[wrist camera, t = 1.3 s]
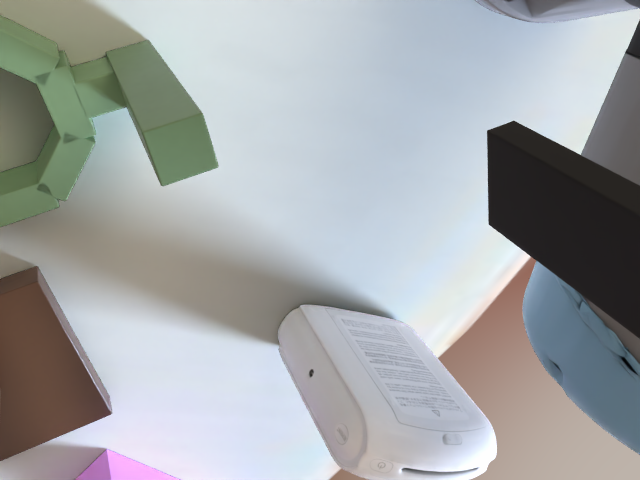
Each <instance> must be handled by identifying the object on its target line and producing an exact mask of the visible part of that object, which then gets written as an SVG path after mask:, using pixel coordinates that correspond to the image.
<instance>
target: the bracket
mask: <svg viewBox="0 0 640 480" xmlns="http://www.w3.org/2000/svg"><path fill="white" fill-rule="evenodd" d="M75 480H180V479H177V478H175V477H172V476H170V475H168V474H165V473H163V472H160V471H158V470H156V469H153V468H151V467H148V466H146V465H144V464H141V463H139V462H136V461H134V460H132V459H129V458H127V457H125V456H122V455H120V454H117V453H115V452H113V451H110V450H108V449H106V450H105V451H104V452H103V453H102V454H101V455H100V456H99V457H98V458H97V459H96V460H95V461H94V462H93V463H92V464H91V465H90V466H89V467H88V468H87V469H86V470H85V471H84V472H83V473H81V474H80V475H79V476H78V477H77V478H76V479H75Z"/></svg>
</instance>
